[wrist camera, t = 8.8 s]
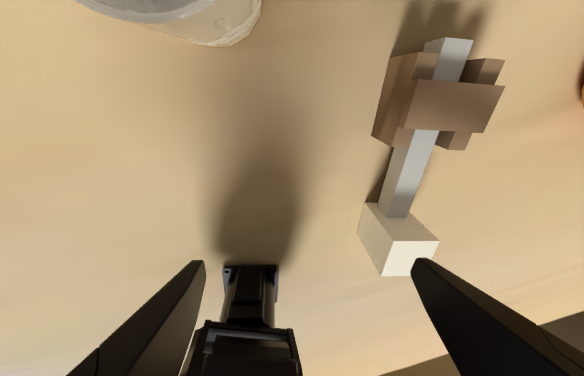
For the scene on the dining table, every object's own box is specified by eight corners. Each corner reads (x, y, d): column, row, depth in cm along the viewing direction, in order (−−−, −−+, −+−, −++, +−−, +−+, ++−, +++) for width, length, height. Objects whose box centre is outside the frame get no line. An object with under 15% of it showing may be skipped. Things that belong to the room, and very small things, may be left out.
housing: (437, 139, 19) (479, 153, 15) (365, 135, 19) (390, 149, 15) (527, -94, 13) (637, -171, 9) (422, -114, 12) (492, -206, 8)
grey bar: (389, 232, 24) (422, 275, 19) (356, 232, 24) (380, 276, 18) (454, 47, 16) (544, 30, 11) (406, 42, 16) (474, 22, 10)
